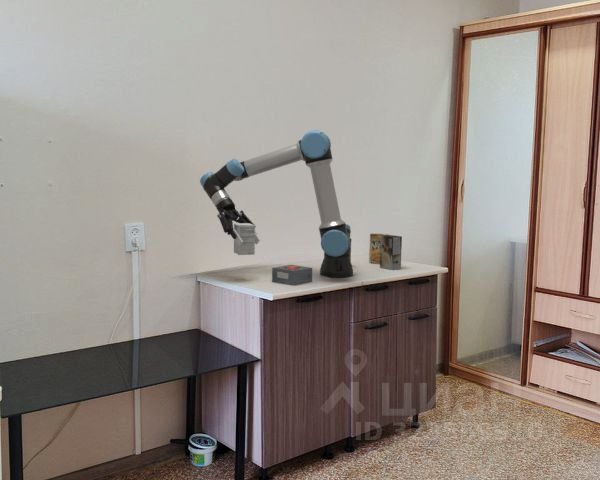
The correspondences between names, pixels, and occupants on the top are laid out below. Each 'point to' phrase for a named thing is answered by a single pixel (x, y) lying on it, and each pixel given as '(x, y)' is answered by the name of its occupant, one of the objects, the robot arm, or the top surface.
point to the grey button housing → (292, 275)
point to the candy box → (375, 247)
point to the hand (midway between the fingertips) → (249, 243)
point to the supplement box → (245, 239)
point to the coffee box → (390, 251)
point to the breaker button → (292, 267)
